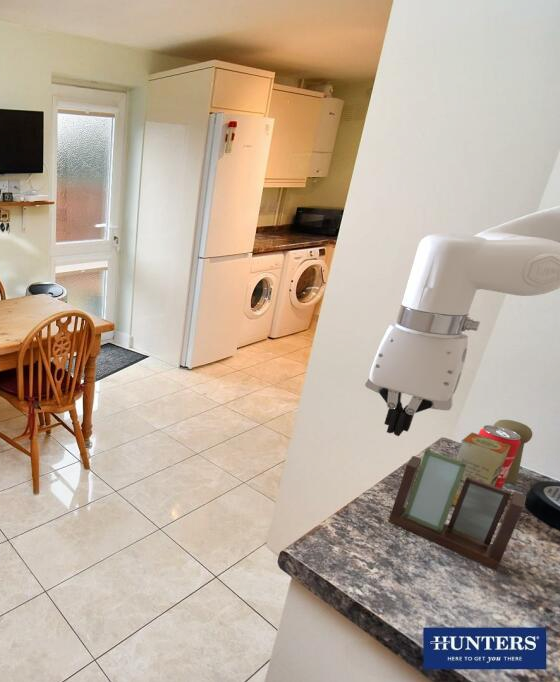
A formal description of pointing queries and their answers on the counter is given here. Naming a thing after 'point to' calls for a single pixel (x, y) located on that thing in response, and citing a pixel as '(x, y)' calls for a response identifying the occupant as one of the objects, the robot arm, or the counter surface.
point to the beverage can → (507, 438)
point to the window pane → (434, 489)
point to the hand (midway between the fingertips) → (395, 431)
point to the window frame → (466, 518)
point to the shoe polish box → (481, 459)
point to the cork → (525, 436)
